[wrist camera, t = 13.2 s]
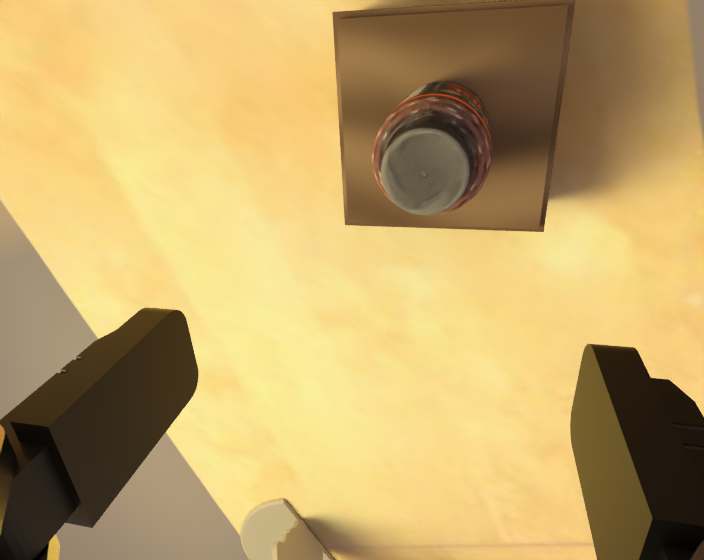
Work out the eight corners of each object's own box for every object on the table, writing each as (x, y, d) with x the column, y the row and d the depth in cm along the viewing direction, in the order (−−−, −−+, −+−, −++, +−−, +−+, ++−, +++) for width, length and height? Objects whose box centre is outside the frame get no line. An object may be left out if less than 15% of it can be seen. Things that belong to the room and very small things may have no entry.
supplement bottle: (510, 119, 30) (526, 166, 21) (446, 191, 33) (433, 262, 24) (435, 57, 30) (415, 73, 20) (377, 136, 33) (334, 184, 23)
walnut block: (355, 13, 36) (330, 11, 30) (559, 0, 33) (577, -4, 27) (362, 198, 42) (343, 227, 36) (534, 202, 39) (544, 235, 33)
